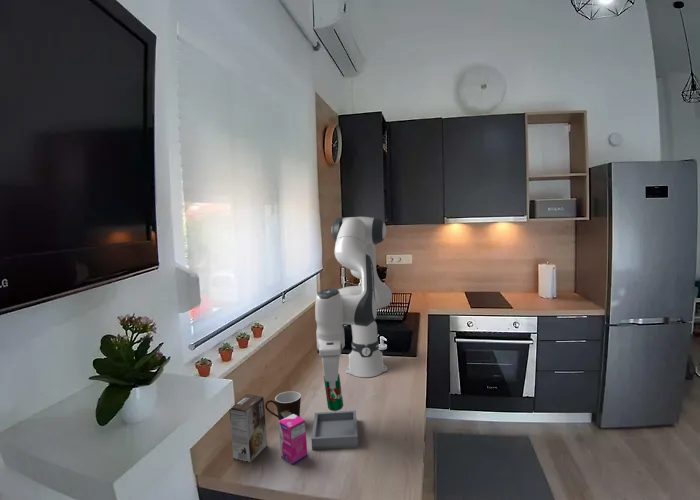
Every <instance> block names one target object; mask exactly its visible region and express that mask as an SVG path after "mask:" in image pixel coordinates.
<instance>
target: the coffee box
mask: <svg viewBox="0 0 700 500" xmlns="http://www.w3.org/2000/svg"><path fill="white" fill-rule="evenodd" d="M264 401H265V400H264V396H262V395H261V396H260V395H257V394H249V393H246V394H245V395H243V396H242V397H241V398H240V399H238V400H237V401H236V402H234V403H235V405H234V407H233V408H232V409H231V410H230V409H229V420H230V431H231V432H230V433H231V446H232V457H233V459H234V458H235V459H234V460H238V459H239V461H242V460H243V462H246V461H248V462H247V463H251V462H253V460H254V459H255V458H257V456H258V455H259V454H260V453H261V452H262V451H263V450H264V449H265V448H266V447H267V446H268V439H267V438H268V437H267V426H266V414H265V413H266V411H265V402H264Z"/></svg>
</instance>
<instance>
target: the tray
mask: <svg viewBox="0 0 700 500" xmlns="http://www.w3.org/2000/svg"><path fill="white" fill-rule="evenodd" d="M357 421H358V419H357V410H343V411H341V410H338V411H325V412H314V418H313V426H312V430H311V451H316V450H317V451H320V450H334V449H335V450H336V449H337V450H339V449H351V448H353V449H355V448H359V436H358V435H359V432H358V422H357Z"/></svg>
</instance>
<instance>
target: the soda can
mask: <svg viewBox="0 0 700 500" xmlns="http://www.w3.org/2000/svg"><path fill="white" fill-rule="evenodd" d="M340 375H341V374H340V373H339V372H338V379H337V381H335V383H336V387H335V388H334V389H331V388H330V383H329V382H327V381H326V380H325V377H324V376H323V380H324V382H323V383H324V389H325V396H326V402H327V404H326V405H327V408H328V410H330V412H338V411H341V409H343V407H344V400H343V399H344V398H343V390H342V385H341V376H340Z"/></svg>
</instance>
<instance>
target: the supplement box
mask: <svg viewBox="0 0 700 500" xmlns="http://www.w3.org/2000/svg"><path fill="white" fill-rule="evenodd" d="M306 429H307V428H306V420H305V419H304V418H302V417H298V416H297V415H295V414H292V415H290V416H288V417H286V418H284V419H282V420H280V421H279V420H278V431H279V444H280V445H279V448H280V457H281V458H282V459H284V460H286V461H287V462H288V463H290V464H291V465H294V464H296V463H298V462H300V461H302V460H304V459H305V458H307V457H308V456H309V455H308V446H307V445H308V443H307V442H308V441H307V432H306Z"/></svg>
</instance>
